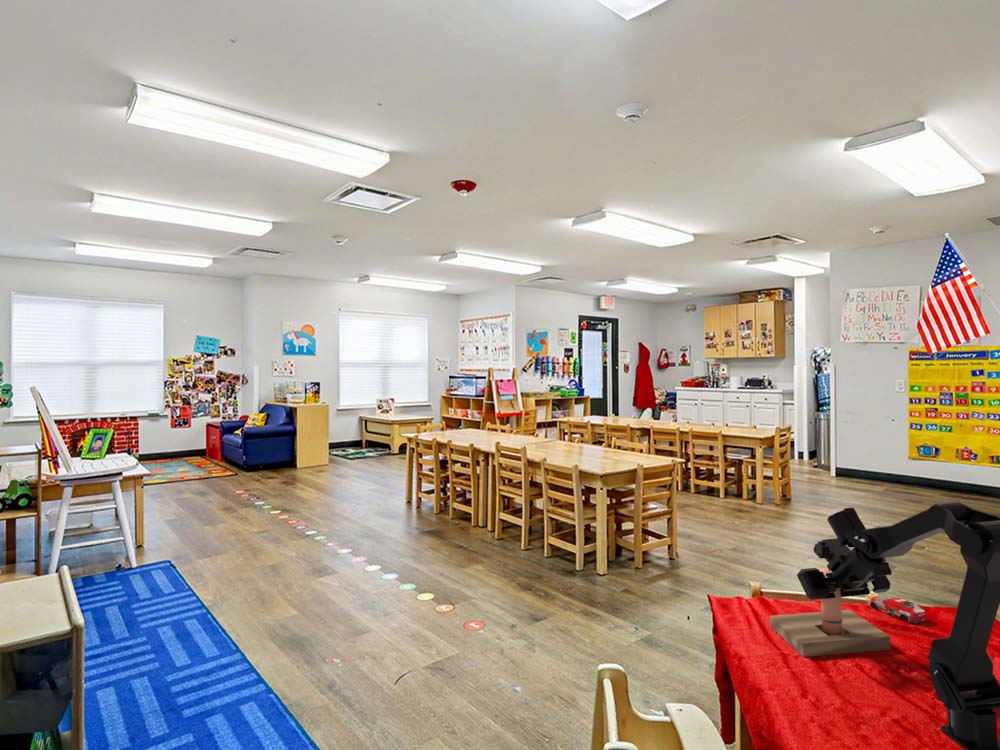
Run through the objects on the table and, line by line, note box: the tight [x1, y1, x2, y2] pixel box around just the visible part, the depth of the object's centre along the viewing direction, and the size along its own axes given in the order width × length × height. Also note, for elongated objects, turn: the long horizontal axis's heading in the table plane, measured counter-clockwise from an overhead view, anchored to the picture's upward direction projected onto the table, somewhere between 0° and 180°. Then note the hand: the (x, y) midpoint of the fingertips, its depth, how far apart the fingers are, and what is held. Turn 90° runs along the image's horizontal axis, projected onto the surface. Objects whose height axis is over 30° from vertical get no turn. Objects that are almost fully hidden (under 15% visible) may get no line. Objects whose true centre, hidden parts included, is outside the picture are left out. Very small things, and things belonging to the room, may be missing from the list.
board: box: [769, 609, 891, 658], centre depth 136 cm, size 14×20×3 cm
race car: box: [869, 596, 928, 624], centre depth 146 cm, size 13×5×4 cm, turn 18°
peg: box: [819, 567, 842, 635], centre depth 133 cm, size 4×4×14 cm
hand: (827, 596), depth 135 cm, fingers closed on peg, 4 cm apart
